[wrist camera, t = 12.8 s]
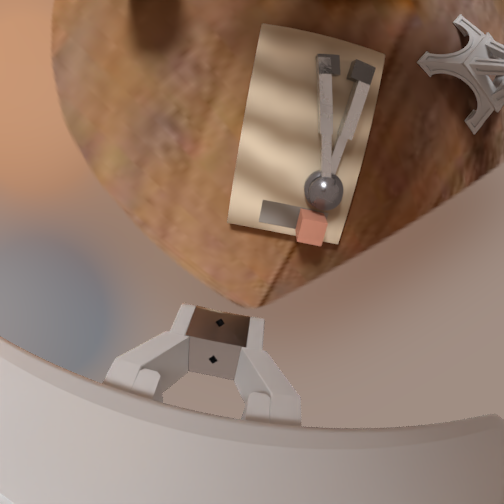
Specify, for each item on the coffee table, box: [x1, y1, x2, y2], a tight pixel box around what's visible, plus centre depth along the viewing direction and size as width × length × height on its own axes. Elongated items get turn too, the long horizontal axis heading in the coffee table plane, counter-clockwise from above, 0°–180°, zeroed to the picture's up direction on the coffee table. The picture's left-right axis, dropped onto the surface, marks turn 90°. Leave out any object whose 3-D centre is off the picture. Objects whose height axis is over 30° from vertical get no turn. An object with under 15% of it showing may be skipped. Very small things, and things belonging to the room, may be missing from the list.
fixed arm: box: [304, 59, 376, 208], centre depth 31 cm, size 19×5×2 cm, turn 164°
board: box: [227, 23, 385, 244], centre depth 33 cm, size 26×15×2 cm, turn 170°
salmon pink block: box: [295, 208, 328, 246], centre depth 36 cm, size 3×3×4 cm
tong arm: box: [308, 54, 343, 211], centre depth 31 cm, size 18×4×2 cm, turn 3°
